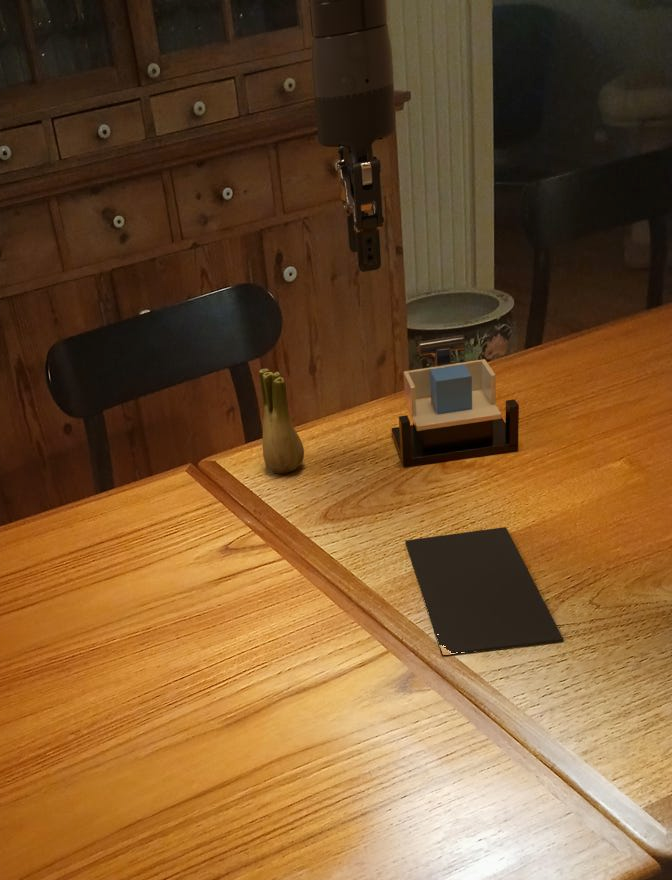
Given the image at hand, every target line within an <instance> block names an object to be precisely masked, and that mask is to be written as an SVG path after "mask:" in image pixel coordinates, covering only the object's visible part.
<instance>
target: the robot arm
mask: <svg viewBox="0 0 672 880" xmlns="http://www.w3.org/2000/svg"><path fill="white" fill-rule="evenodd" d="M308 4H309V18H310V29H311V37H312V38H311V39H312V40H311V44H312V45H311V46H312V47H311V49H312V51H311V73H312V74H311V75H312V83H313V95H314V107H315V118H316V119H315V120H316V131H317V141H318V143H319V144H320V145H321V146H322V147H327V148H337V154H338V155H339V161H337V162H336V170H337V171H336V172H337V179H338V181H339V193H340V199H341V202H342V203H343V204H342V205H343V212H344V213H345V215H346V222H347V235H348V247H349V250H350V252H352V253H356V254H357V266H358V269H359V271H360V272H363V273H366V272H372V271H376V270H377V271H378V270H379V269H380V268H381V266H382V256H381V254H382V253H381V238H380V230H381V229H382V228H383V227H384V223H385V219H384V218H385V217H384V216H383V200H384V199H383V191H382V190H383V189H382V184H381V183H382V182H381V177H382V172H383V171H382V163H381V159H380V158H378V156H377V155H374V149H373V145H374V143H375V141H378V140H383V139H386V138H388V137H391V136H392V135H393V134H394V132H395V131H396V109H395V87H394V85H395V84H394V66H393V65H394V64H393V50H392V44H391V38H390V32H389V24H388V22H389V20H388V1H387V0H308ZM368 211H372V214H369V212H368Z"/></svg>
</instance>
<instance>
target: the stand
mask: <svg viewBox="0 0 672 880" xmlns="http://www.w3.org/2000/svg"><path fill="white" fill-rule="evenodd" d="M519 420H520V405H519V404H518V402H517V401H516V399H507V400H505V420H504V418H503V417H502V419H495V420H489V421H482V422H475V423H468V424H461V425H454V426H448V427H441V428H434V429H427V430H420V431H417V430H416V428H415V426H414V423H413V422H412V424H411V421H410V418H409V416H408V414H406V415H399V416H398V426H396V427H391V428H390V429H391V437H392V439H393V442H394V445H395V447H396V449H397V454H398V455H399V459H400V461H401V463H402V466H403V468H407V467H415V466H421V465H426V464H427V465H428V464H429V465H430V464H436V463H443V462H449V461H456V460H464V459H471V458H477V457H483V456H491V455H498V454H505V453H512V452H518V451H519V429H520V428H519V427H520V425H519V423H520V421H519Z"/></svg>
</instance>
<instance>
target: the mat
mask: <svg viewBox="0 0 672 880" xmlns="http://www.w3.org/2000/svg"><path fill="white" fill-rule="evenodd" d="M404 542H405V546H406V549H407V553H408V552H409V553H408V555H409V559H410V558H411V559H410V562H411V561H412V562H411V565H412V568H413V567H414V568H413V571H414V570H415V571H414V574H415V573H416V574H415V577H416V576H417V577H416V580H417V579H418V580H417V583H418V582H419V583H418V586H419V585H420V586H419V589H420V588H421V590H420V592H421V591H422V593H421V595H422V594H423V596H422V598H423V597H424V599H423V601H424V600H425V602H424V604H425V603H426V605H425V608H426V607H427V608H426V610H427V609H428V611H427V613H428V612H429V614H428V617H429V616H430V617H429V619H431V620H430V623H431V622H432V623H431V626H432V625H433V627H432V629H433V628H434V630H433V632H434V631H435V633H434V635H435V634H436V636H435V638H436V637H437V639H438V642H439V645H442V646H443V645H444V646H446V647H444V648H446V649H447V650H449V651H451V653H456V652H458V653H461V652H465V654H467V653H466V652H473V653H475V652H474V651H481V652H487V651H486V650H490V651H495V650H494V649H498V650H502V649H501V648H506V649H513V648H512V647H514V648H521V647H523V648H524V647H529V646H538V645H546V644H547V643H548V644H555V643H563V642H564V637H563V635H562V633H561V631H560V629H559V627H558V626H557V623H556V621H555V620H554V618H553V616H552V614H551V612H550V610H549V608H548V606H547V604H546V602H545V600H544V598H543V596H542V594H541V593H540V591H539V589H538V586H537V585H536V582H535V581H534V579H533V577H532V574H531V573H530V571H529V569H528V567H527V565H526V563H525V562H524V559H523V557H522V556H521V553H520V552H519V550H518V548H517V545H516V544H515V542H514V540H513V538H512V536H511V534H510V532H509V531H508V528H507V527H506V526H502V527H496V528H488V529H480V530H473V531H464V532H458V533H451V534H449V533H448V534H443V535H435V536H427V537H420V538H413V539H406V540H404ZM437 634H439V635H437ZM437 639H436V640H437ZM562 641H563V642H562ZM438 642H437V643H438ZM548 644H547V645H548ZM439 645H438V646H439ZM483 650H484V651H483Z"/></svg>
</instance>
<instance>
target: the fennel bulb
mask: <svg viewBox="0 0 672 880" xmlns="http://www.w3.org/2000/svg"><path fill="white" fill-rule="evenodd" d="M258 375H259V382H260V389H261V396H262V408H263V422H262V423H263V424H262V456H263V457H262V458H263V460H264V463H265V464H264V465H265V468H266V469H267V470H268V471H269V472H271V473H273V472H274V474H284V472H287V473H291V472H293V471H295V470H296V469H297V468H298V467H299V466H300V465H301V464H302V463H303V460H304V458H305V448H304V445H303V442H302V439H301V438H300V436H299V434H298V432H297V431H296V429H295V427H294V426H293V423H292V420H291V416H290V411H289V403H288V395H287V386H286V380H285V378H283V377H282V375H281V373H280V372H279V371H276V372H274V373H273V372H272V371H270V369H269V368H261V369H259V371H258ZM290 471H291V472H290Z"/></svg>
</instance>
